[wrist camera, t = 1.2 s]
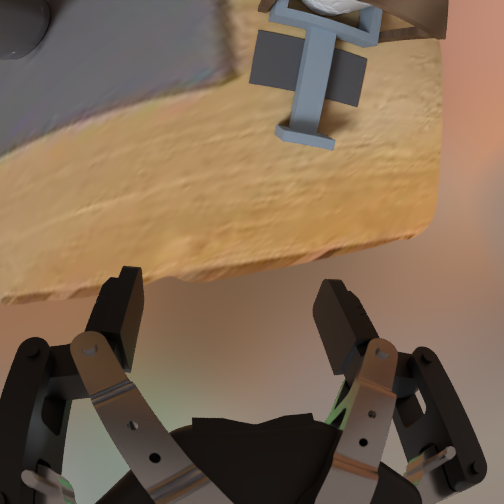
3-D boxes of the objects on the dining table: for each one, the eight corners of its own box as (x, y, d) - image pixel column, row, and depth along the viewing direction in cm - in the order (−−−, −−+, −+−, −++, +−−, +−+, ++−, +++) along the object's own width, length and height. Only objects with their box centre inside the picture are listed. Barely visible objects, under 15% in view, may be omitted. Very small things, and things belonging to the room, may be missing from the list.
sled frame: (249, 130, 32) (253, 136, 29) (283, -53, 18) (291, -67, 15) (342, 147, 34) (356, 155, 31) (373, -24, 21) (390, -32, 17)
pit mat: (249, 83, 29) (249, 83, 29) (258, 30, 26) (258, 30, 26) (356, 107, 32) (357, 107, 32) (366, 59, 28) (366, 59, 28)
